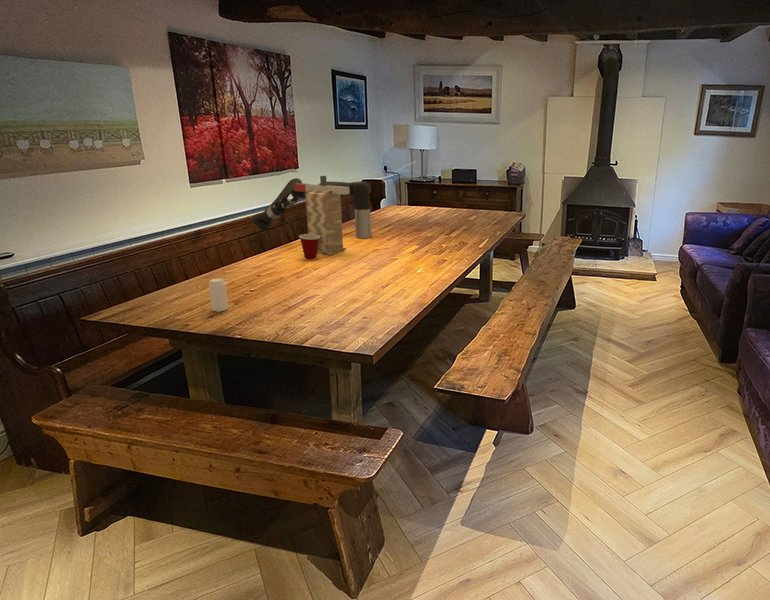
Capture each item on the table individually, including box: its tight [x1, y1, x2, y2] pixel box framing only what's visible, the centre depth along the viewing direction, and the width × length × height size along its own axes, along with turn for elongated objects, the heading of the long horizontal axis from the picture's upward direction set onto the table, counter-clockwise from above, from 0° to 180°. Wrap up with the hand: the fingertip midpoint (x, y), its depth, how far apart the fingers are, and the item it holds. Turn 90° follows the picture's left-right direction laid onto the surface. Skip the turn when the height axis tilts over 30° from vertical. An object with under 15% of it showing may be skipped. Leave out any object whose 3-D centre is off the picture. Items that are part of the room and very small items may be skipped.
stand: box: [305, 190, 347, 257], centre depth 287 cm, size 16×14×33 cm
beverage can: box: [208, 277, 229, 313], centre depth 202 cm, size 6×6×12 cm
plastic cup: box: [298, 233, 320, 260], centre depth 277 cm, size 11×11×12 cm
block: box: [294, 175, 349, 196], centre depth 282 cm, size 36×4×9 cm, turn 53°
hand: (292, 197), depth 296 cm, fingers open, 8 cm apart
